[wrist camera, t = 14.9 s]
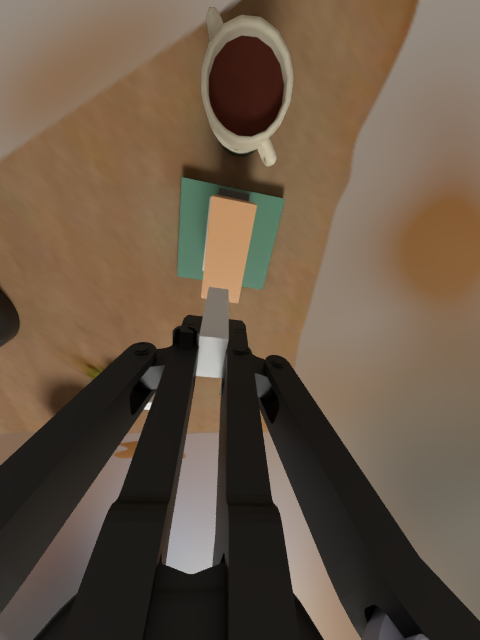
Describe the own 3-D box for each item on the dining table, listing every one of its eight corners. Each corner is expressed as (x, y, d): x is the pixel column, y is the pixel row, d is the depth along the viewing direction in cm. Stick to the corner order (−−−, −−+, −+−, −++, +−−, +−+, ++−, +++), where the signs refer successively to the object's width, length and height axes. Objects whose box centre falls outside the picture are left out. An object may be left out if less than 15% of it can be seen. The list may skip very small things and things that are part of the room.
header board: (179, 273, 37) (169, 289, 31) (183, 177, 31) (172, 175, 25) (261, 286, 39) (267, 304, 33) (282, 198, 32) (294, 200, 26)
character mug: (191, 93, 27) (162, 24, 15) (243, 50, 25) (254, -63, 14) (238, 186, 32) (242, 185, 20) (284, 155, 30) (317, 135, 19)
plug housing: (204, 296, 36) (198, 318, 30) (215, 194, 29) (211, 196, 23) (233, 300, 37) (234, 322, 31) (251, 201, 30) (257, 205, 24)
